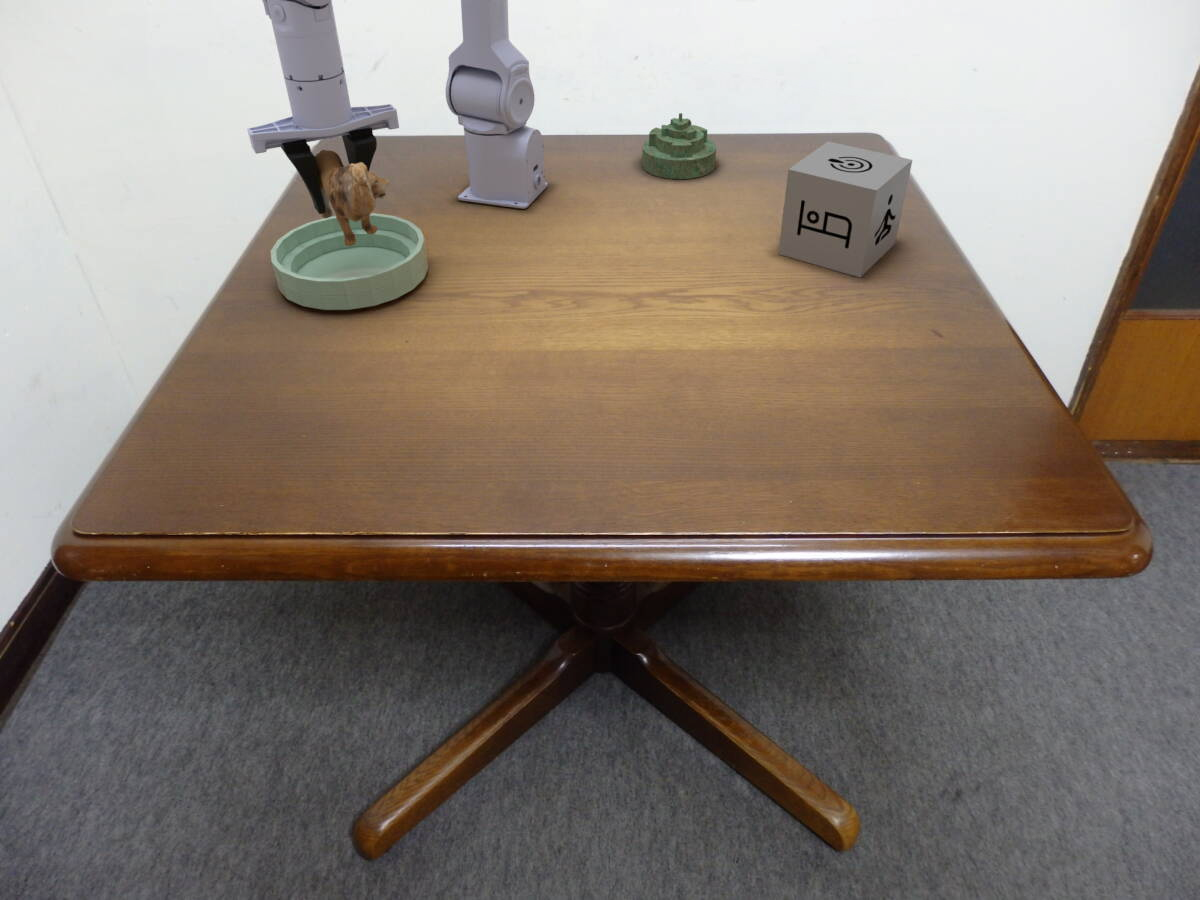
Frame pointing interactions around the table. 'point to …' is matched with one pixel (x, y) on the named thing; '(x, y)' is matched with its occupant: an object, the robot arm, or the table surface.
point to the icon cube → (843, 207)
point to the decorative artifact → (678, 151)
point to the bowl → (349, 263)
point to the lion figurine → (348, 192)
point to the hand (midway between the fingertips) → (340, 206)
